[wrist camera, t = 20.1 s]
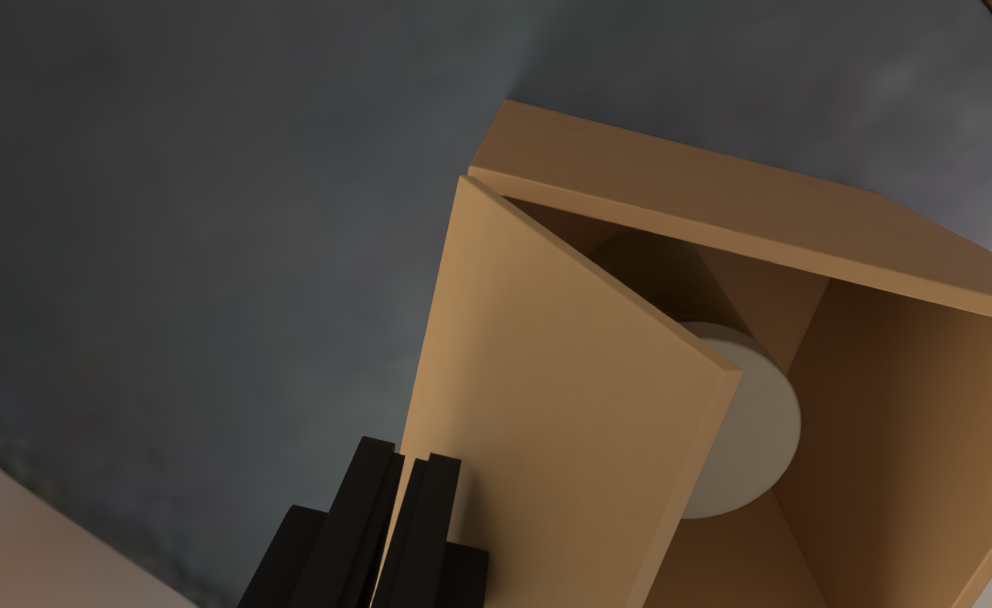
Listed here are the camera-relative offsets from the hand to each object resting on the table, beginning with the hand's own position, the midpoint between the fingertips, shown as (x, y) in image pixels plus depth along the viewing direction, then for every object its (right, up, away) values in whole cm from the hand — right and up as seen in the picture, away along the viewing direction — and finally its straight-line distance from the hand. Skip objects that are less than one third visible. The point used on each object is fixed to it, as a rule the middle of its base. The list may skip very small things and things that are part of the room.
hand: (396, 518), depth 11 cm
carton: (+7, +4, +13) cm, 16 cm away
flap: (+1, -1, 0) cm, 2 cm away
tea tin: (+7, +4, +13) cm, 15 cm away
